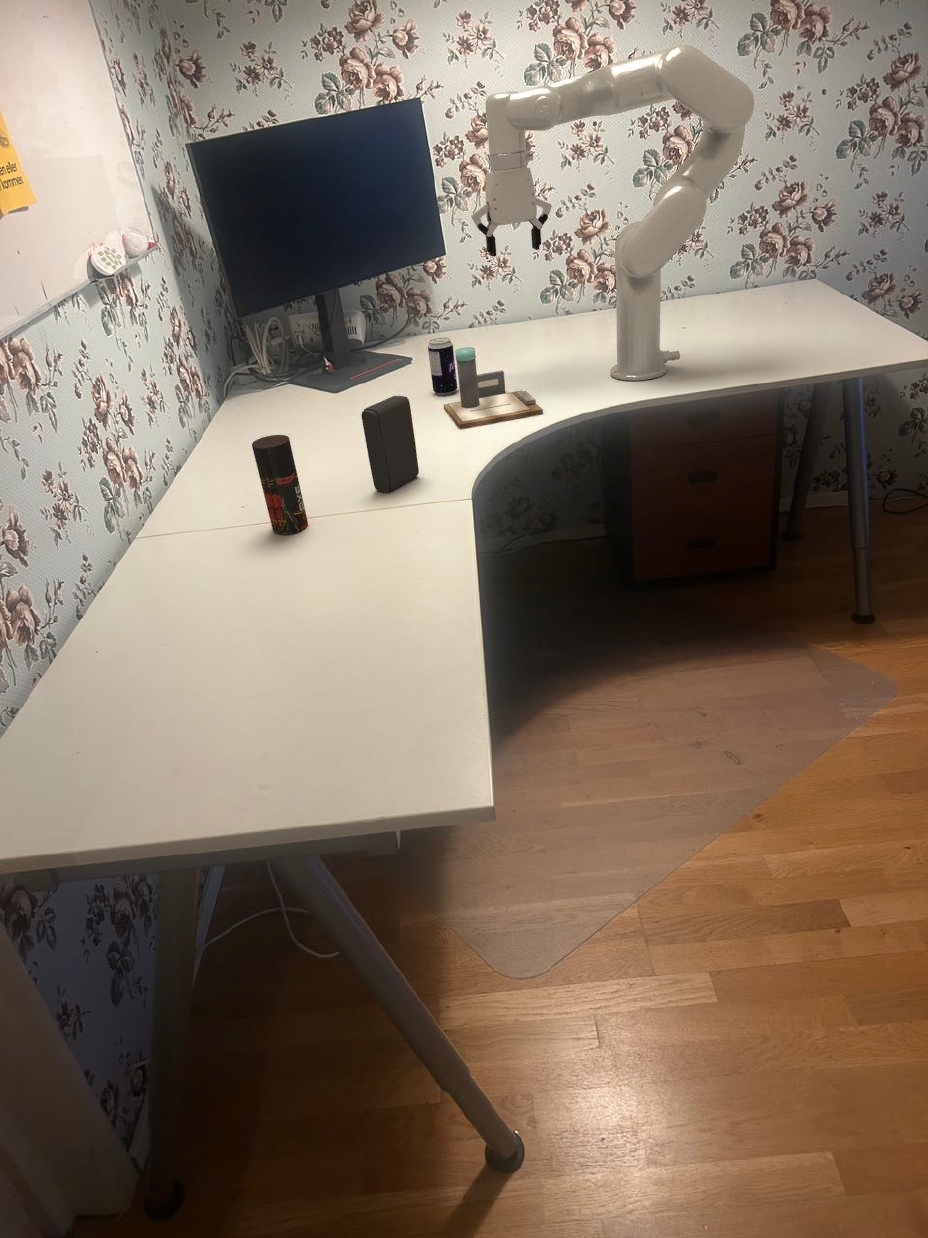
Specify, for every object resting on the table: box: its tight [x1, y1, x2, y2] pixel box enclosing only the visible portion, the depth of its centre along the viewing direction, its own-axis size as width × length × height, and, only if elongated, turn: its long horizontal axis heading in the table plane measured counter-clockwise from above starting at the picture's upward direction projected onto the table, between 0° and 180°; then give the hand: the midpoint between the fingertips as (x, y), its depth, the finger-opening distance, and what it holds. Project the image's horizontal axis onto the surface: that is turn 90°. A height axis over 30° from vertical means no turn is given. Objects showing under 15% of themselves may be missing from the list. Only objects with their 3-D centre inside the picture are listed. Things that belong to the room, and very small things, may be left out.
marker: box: [454, 346, 480, 408], centre depth 180 cm, size 4×4×12 cm
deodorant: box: [251, 434, 309, 536], centre depth 138 cm, size 6×6×15 cm
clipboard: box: [442, 390, 544, 430], centre depth 182 cm, size 18×15×2 cm
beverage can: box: [427, 337, 458, 397], centre depth 194 cm, size 6×6×12 cm
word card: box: [477, 370, 506, 398], centre depth 190 cm, size 10×1×5 cm, turn 103°
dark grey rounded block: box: [361, 395, 420, 493], centre depth 149 cm, size 9×4×15 cm, turn 141°
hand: (514, 252), depth 183 cm, fingers open, 9 cm apart
